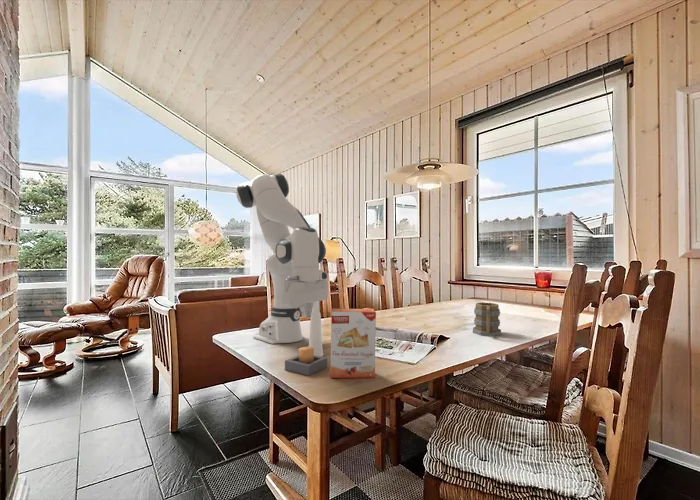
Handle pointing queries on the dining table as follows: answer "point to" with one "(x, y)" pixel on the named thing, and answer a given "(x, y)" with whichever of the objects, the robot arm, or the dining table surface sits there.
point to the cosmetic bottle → (316, 330)
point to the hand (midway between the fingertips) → (306, 316)
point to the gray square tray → (305, 365)
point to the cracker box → (353, 343)
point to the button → (306, 354)
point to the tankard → (487, 319)
